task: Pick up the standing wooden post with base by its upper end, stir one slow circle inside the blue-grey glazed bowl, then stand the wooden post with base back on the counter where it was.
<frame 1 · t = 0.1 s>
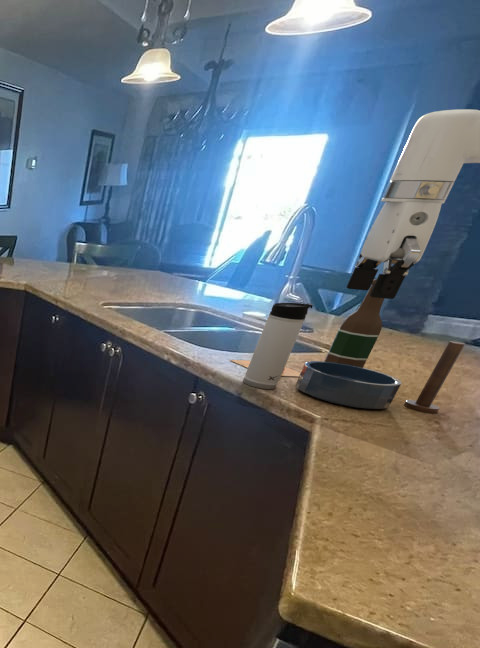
hand: (368, 293, 91), 25 cm above the countertop, tool pointing down, fingers open, 9 cm apart
beer bottle: (339, 372, 129), on the countertop
tan flat slab: (267, 369, 129), on the countertop
wooden post with base: (420, 408, 107), on the countertop
travel mug: (259, 385, 117), on the countertop
bowl: (339, 397, 111), on the countertop
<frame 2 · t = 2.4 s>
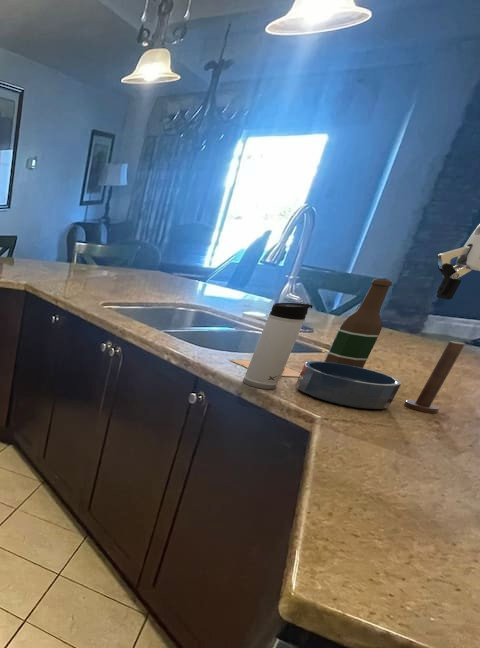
hand: (475, 301, 97), 24 cm above the countertop, tool pointing down, fingers open, 9 cm apart
nothing on the countertop moved.
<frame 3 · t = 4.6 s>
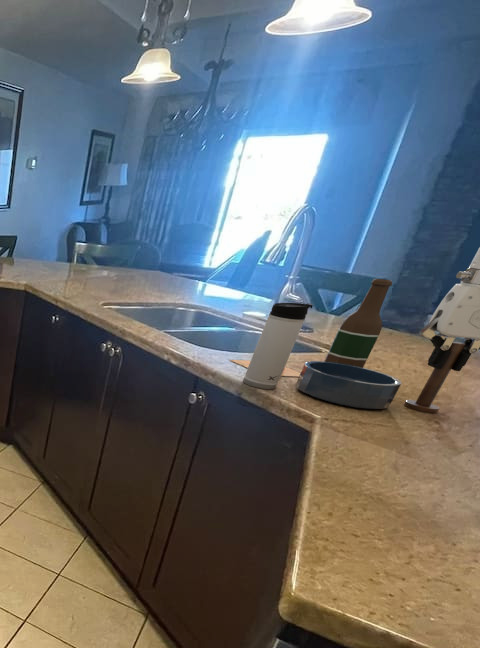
hand: (443, 367, 103), 10 cm above the countertop, tool pointing down, fingers closed on wooden post with base
wooden post with base: (420, 408, 107), on the countertop, touching gripper
everything else where it was.
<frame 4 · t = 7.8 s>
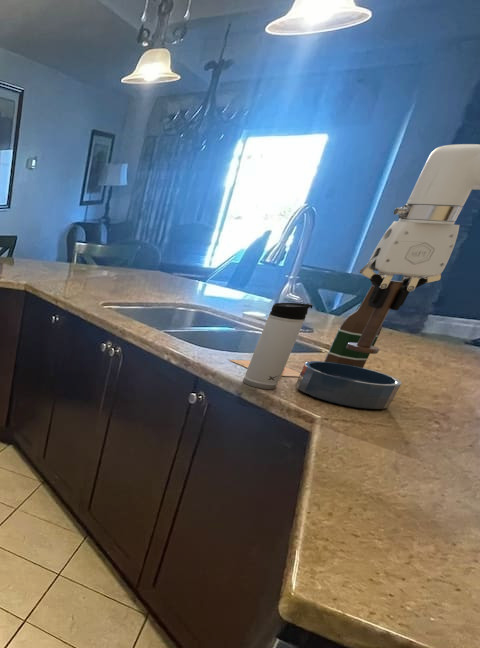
hand: (382, 307, 103), 21 cm above the countertop, tool pointing down, fingers closed on wooden post with base
wooden post with base: (361, 350, 107), point 11 cm above the countertop, touching gripper
everything else where it was.
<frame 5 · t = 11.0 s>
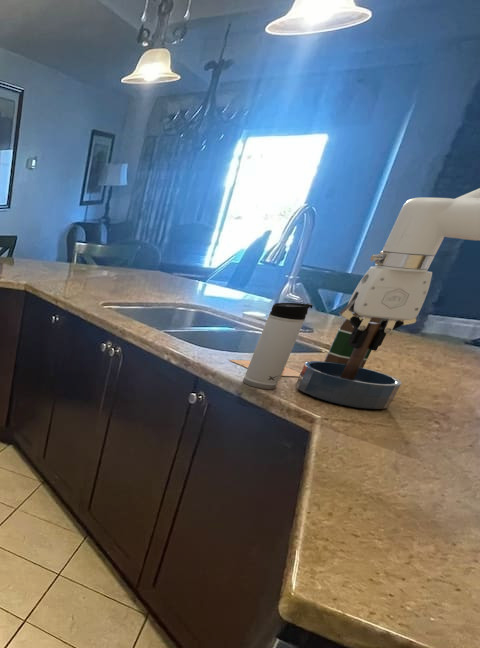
hand: (362, 347, 108), 12 cm above the countertop, tool pointing down, fingers closed on wooden post with base
wooden post with base: (342, 387, 112), point 2 cm above the countertop, touching gripper
everything else where it was.
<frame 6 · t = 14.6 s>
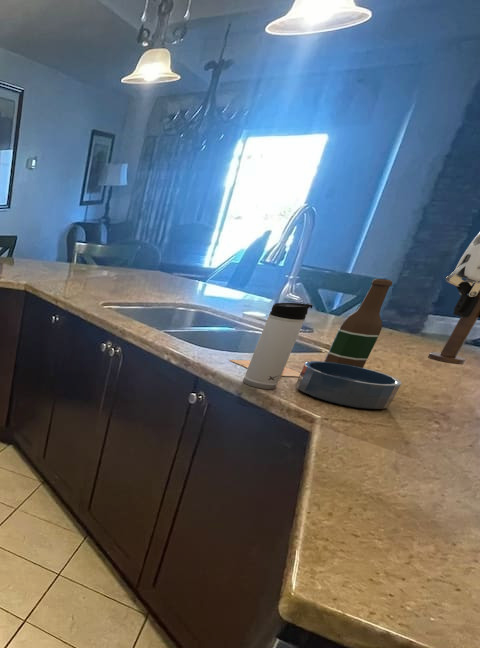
hand: (470, 315, 99), 21 cm above the countertop, tool pointing down, fingers closed on wooden post with base
wooden post with base: (445, 360, 103), point 11 cm above the countertop, touching gripper
everything else where it was.
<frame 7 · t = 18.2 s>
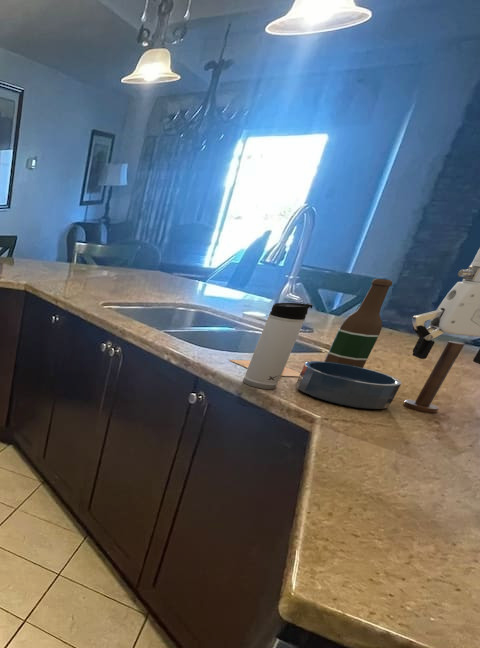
hand: (448, 360, 102), 11 cm above the countertop, tool pointing down, fingers open, 9 cm apart
wooden post with base: (419, 408, 107), on the countertop
everything else where it was.
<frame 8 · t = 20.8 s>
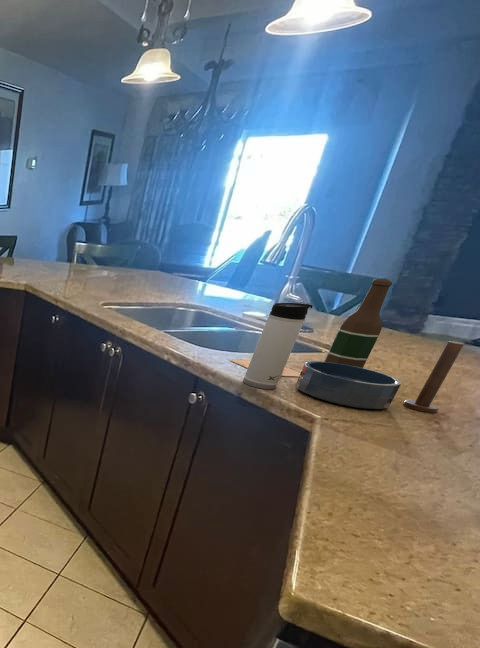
nothing on the countertop moved.
at the end: wooden post with base inside the target area (0.1 cm from its centre), on the countertop; wooden post with base tilted 0°; the gripper is holding nothing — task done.
